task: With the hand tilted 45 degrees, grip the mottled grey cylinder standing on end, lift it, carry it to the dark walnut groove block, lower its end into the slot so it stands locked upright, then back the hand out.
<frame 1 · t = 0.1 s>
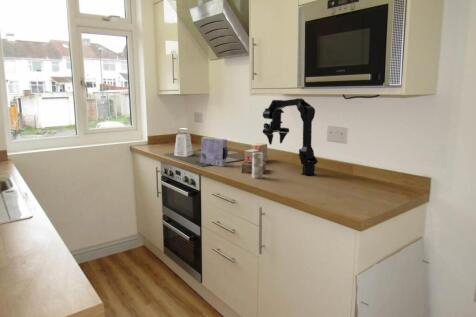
hand: (275, 144, 225), 15 cm above the counter, tool pointing down, fingers open, 9 cm apart
cake pan box: (213, 164, 230), on the counter
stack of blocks: (255, 162, 239), on the counter
mottled grey cylinder: (256, 177, 197), on the counter
grater: (183, 155, 263), on the counter
groove block: (253, 171, 212), on the counter
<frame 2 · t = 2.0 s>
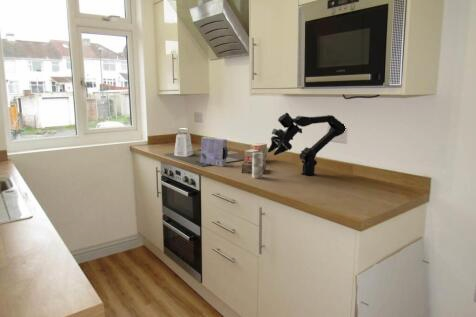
hand: (271, 153, 196), 13 cm above the counter, tool tilted 45°, fingers open, 9 cm apart
nothing on the counter moved.
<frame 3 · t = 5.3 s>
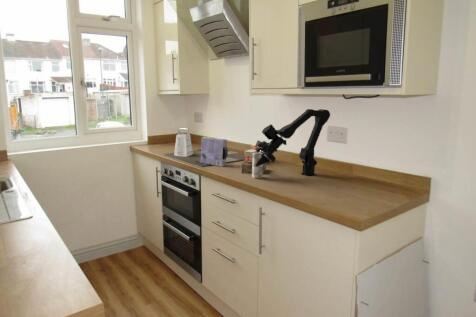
hand: (254, 165, 195), 7 cm above the counter, tool tilted 45°, fingers closed on mottled grey cylinder, 4 cm apart
mottled grey cylinder: (256, 177, 197), on the counter, touching gripper
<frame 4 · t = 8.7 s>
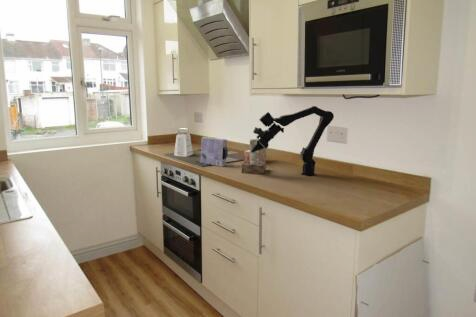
hand: (251, 151, 202), 14 cm above the counter, tool tilted 45°, fingers closed on mottled grey cylinder, 4 cm apart
mottled grey cylinder: (254, 163, 204), point 6 cm above the counter, touching gripper
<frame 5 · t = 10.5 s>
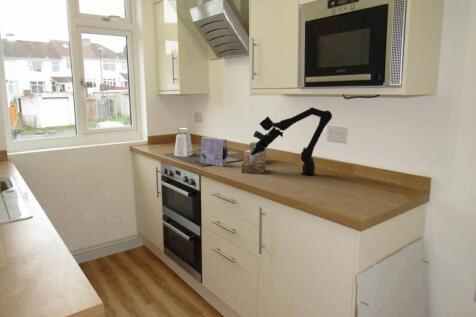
hand: (252, 153, 210), 11 cm above the counter, tool tilted 45°, fingers closed on mottled grey cylinder, 4 cm apart
mottled grey cylinder: (254, 165, 212), point 4 cm above the counter, touching gripper
when the fingers open (9 cm above the counter, at t = 12.0 s): mottled grey cylinder stays where it is, resting on groove block.
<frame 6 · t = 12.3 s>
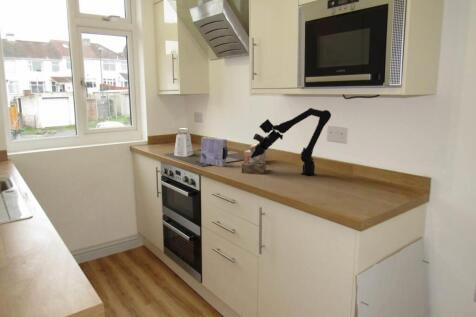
hand: (252, 156, 211), 9 cm above the counter, tool tilted 45°, fingers open, 7 cm apart
mottled grey cylinder: (254, 169, 212), point 1 cm above the counter, touching groove block
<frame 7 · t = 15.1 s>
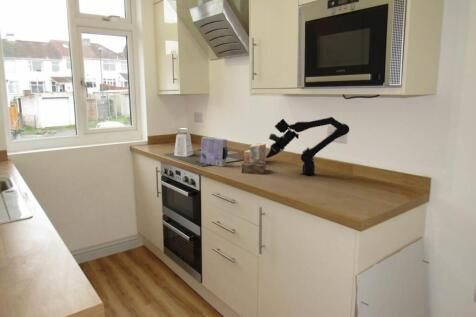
hand: (268, 156, 209), 9 cm above the counter, tool tilted 45°, fingers open, 9 cm apart
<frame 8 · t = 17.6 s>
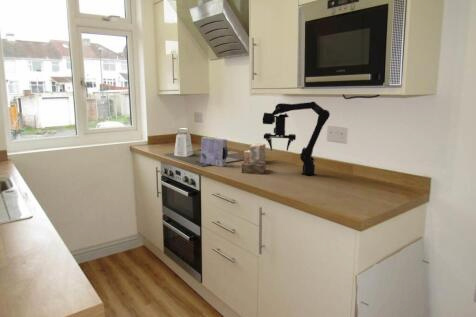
hand: (279, 150, 209), 13 cm above the counter, tool pointing down, fingers open, 9 cm apart
at the end: mottled grey cylinder 0.2 cm off-centre on the groove block, point 1.0 cm above the groove block's base; mottled grey cylinder tilted 0°; the gripper is holding nothing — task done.
